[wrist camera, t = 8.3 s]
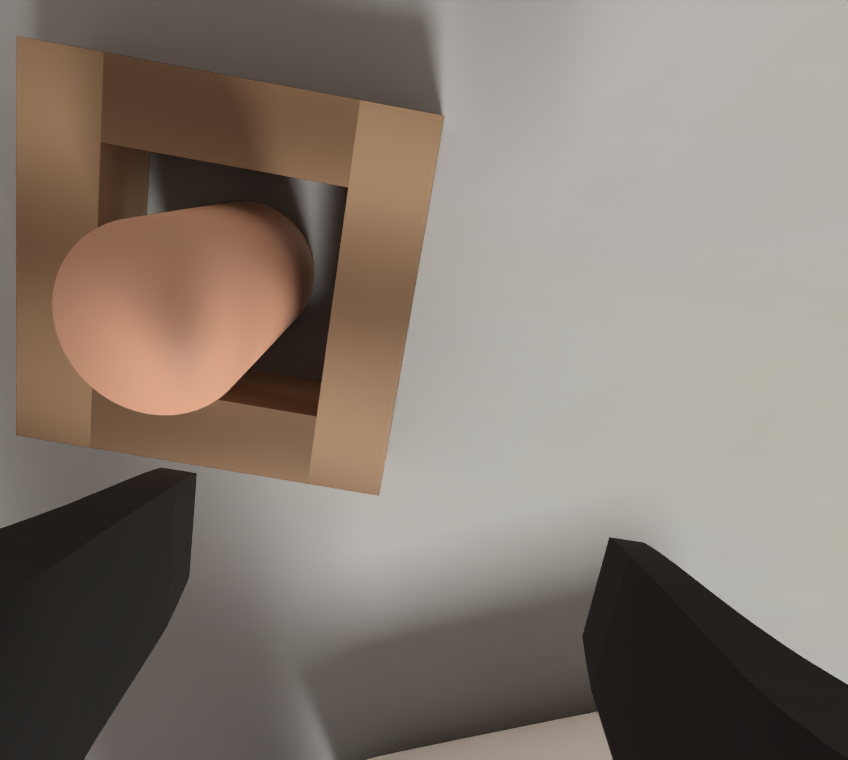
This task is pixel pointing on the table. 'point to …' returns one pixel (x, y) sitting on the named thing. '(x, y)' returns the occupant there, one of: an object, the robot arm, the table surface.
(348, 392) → the socket block
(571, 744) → the can
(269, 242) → the pin
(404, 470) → the table surface
